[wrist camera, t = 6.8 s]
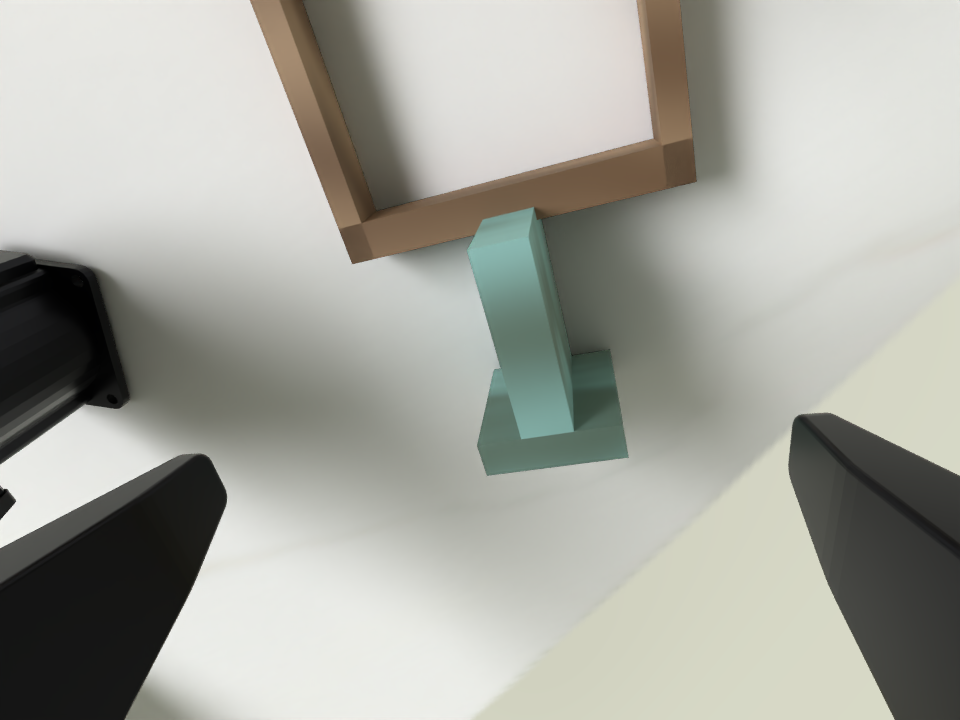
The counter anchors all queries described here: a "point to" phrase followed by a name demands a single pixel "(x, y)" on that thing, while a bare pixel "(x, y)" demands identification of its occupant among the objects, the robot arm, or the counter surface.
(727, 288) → the counter surface
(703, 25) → the counter surface
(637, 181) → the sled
